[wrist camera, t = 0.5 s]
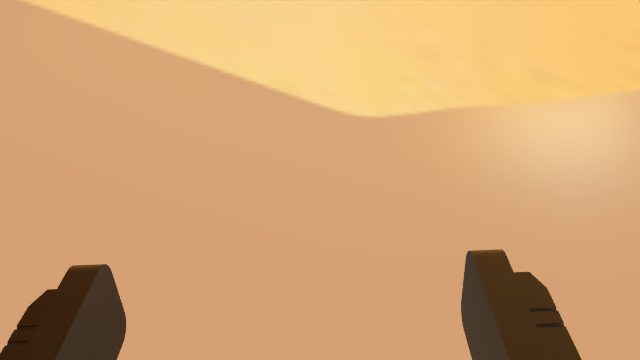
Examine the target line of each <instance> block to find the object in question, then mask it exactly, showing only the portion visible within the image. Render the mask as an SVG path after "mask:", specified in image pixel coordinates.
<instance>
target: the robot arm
mask: <svg viewBox="0 0 640 360" xmlns="http://www.w3.org/2000/svg"><path fill="white" fill-rule="evenodd" d="M461 313H462V322H463V328H464V331H465V335H466V339H467V342H468V346H469V350H470V353H471V356H472V360H581V358H580V356H579V353H578V351H577V349H576V347H575V345H574V343H573V341H572V339H571V337H570V335H569V333H568V331H567V329H566V327H564V322H563V320H562V318H561V316H560V314H559V312H558V311H556V306H555V304H554V302H553V300H552V298H551V296H550V293H549V291H548V290H547V288H546V287H545V286H544V285H543V284H542V283H541V282H540V281H538V279H536V278H535V277H534V276H533V275H532V274H531V273H530V272H515V273H514V272H513V270H512V268H511V265H510V263H509V261H508V258H507V256H506V254H505V252H504V251H503V250H479V251H478V250H476V251H468V252H467V255H466V263H465V272H464V281H463V290H462V300H461ZM125 332H126V317H125V312H124V309H123V306H122V303H121V300H120V296H119V294H118V290H117V287H116V284H115V281H114V278H113V275H112V272H111V269H110V267H109V266H108V265H106V264H102V265H77V266H72V267H70V268H69V269H68V271H67V272H66V274H65V276H64V278H63V279H62V281H61V283H60V285H59V287H58V289H53V290H47V291H45V292H44V293H43V294H42V295H41V296H40V297H39V298H38V299H36V300H35V301H34V302H33V303H32V304H31V305H30V306H29V307H28V308H27V310H26V312H25V313H24V315H23V317H22V318H21V320H20V321H19V323H18V325H17V330H14V332H13V333H12V335H11V337H10V338H9V340H8V345H7V346H5V347H4V348H3V350H2V352H1V353H0V360H117V357H118V355H119V352H120V349H121V347H122V344H123V341H124V338H125Z"/></svg>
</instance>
